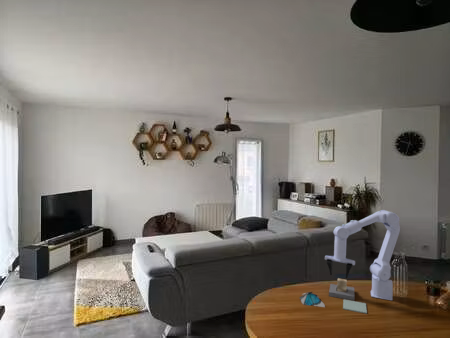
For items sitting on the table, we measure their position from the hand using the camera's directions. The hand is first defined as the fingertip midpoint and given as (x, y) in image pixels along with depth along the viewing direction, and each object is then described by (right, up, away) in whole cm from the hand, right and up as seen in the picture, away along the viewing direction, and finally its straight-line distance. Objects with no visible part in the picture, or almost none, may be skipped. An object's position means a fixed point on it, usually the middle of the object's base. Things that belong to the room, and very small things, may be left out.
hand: (338, 276), depth 152 cm
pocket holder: (+2, -10, +1) cm, 10 cm away
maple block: (+2, -10, +1) cm, 10 cm away
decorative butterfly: (-17, -10, -9) cm, 22 cm away
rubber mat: (+2, -10, -13) cm, 16 cm away
